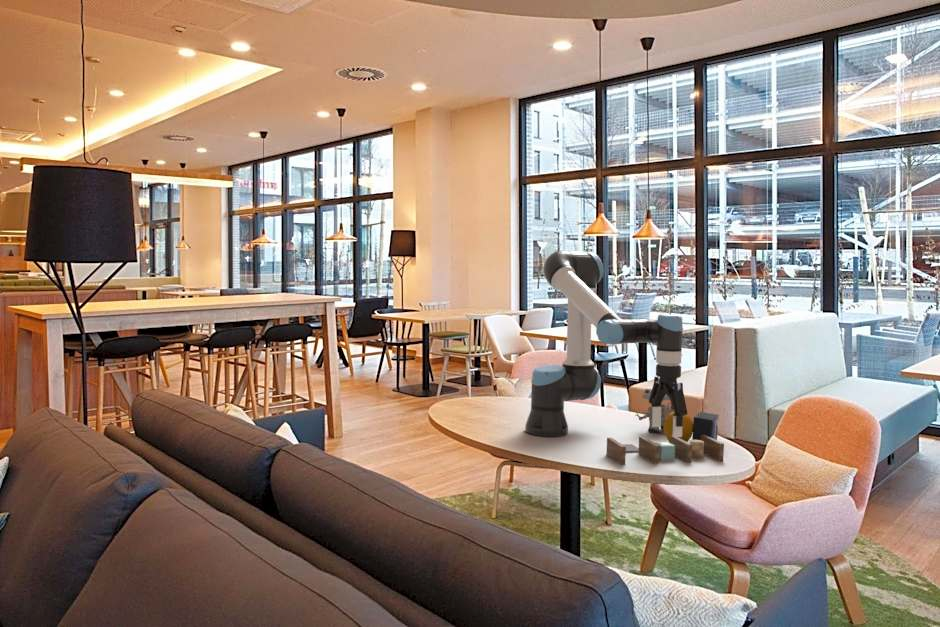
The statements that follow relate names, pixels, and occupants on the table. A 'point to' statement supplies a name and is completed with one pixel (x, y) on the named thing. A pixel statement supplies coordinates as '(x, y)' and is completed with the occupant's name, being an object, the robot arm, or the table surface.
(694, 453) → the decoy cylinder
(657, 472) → the table surface
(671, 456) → the letter cube
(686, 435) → the apple
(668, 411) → the figurine
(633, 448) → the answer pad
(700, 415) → the small box
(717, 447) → the divider rack
